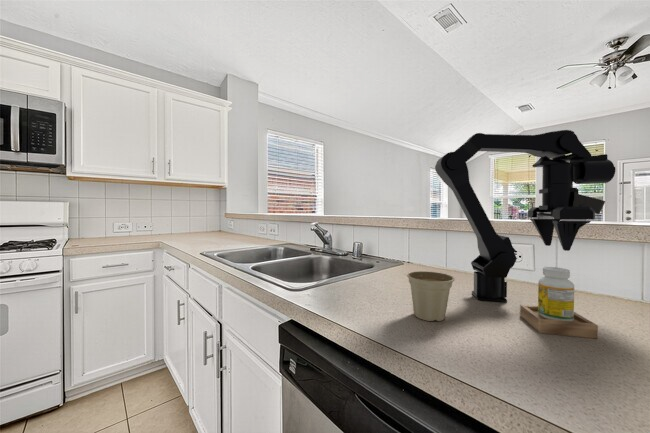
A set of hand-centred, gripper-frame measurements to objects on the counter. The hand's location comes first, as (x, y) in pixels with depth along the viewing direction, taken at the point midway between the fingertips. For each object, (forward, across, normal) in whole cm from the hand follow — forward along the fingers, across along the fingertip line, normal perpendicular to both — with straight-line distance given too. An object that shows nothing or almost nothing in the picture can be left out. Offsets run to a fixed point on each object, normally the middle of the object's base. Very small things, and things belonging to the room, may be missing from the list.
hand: (556, 247), depth 68 cm
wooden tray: (+13, -18, +8) cm, 23 cm away
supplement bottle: (+12, -18, +7) cm, 23 cm away
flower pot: (+13, -20, +30) cm, 39 cm away
